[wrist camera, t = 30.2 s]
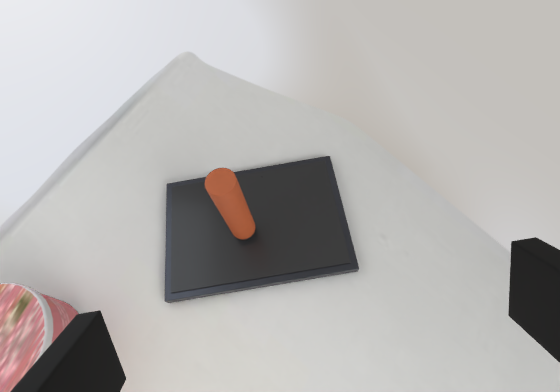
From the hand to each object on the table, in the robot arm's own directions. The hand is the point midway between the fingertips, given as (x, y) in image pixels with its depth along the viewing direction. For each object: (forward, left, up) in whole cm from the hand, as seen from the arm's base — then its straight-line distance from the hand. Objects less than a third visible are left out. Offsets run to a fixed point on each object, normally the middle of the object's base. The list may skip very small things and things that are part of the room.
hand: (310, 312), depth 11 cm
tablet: (+4, -14, -24) cm, 28 cm away
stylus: (+5, -13, -22) cm, 26 cm away
